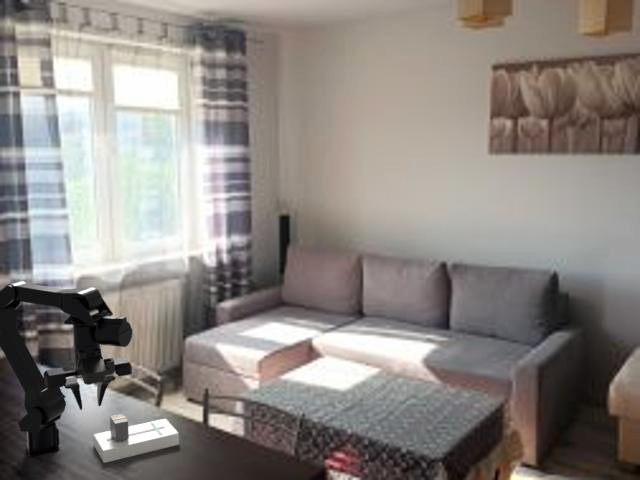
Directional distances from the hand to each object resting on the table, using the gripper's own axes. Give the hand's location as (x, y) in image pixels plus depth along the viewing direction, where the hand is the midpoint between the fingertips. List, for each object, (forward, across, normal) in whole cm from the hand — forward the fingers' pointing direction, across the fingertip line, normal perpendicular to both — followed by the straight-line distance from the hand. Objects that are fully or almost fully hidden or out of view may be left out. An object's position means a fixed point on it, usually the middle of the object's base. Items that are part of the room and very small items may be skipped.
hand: (90, 407), depth 150 cm
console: (+12, +10, 0) cm, 16 cm away
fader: (+9, +7, 0) cm, 11 cm away
